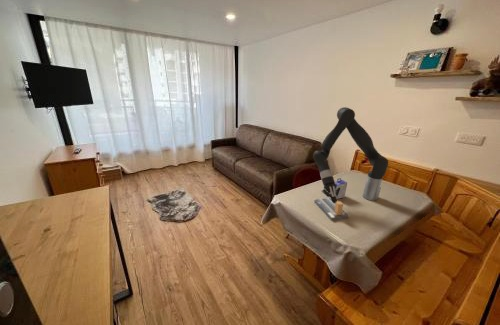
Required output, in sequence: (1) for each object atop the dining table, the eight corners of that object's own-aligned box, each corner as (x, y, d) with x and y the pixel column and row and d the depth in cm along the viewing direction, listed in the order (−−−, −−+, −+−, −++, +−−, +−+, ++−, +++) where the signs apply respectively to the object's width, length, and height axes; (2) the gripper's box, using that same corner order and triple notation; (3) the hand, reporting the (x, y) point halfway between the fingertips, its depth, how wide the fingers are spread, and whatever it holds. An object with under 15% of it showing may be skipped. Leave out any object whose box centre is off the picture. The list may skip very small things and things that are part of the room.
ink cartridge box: (339, 193, 156) (342, 176, 151) (345, 197, 152) (348, 179, 146) (329, 196, 153) (332, 179, 147) (335, 199, 148) (338, 182, 143)
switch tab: (338, 211, 130) (340, 201, 127) (341, 214, 128) (343, 203, 125) (333, 212, 130) (335, 201, 127) (336, 215, 127) (338, 204, 124)
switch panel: (329, 200, 147) (330, 196, 146) (348, 218, 128) (349, 213, 127) (314, 202, 145) (314, 198, 143) (331, 220, 126) (331, 215, 124)
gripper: (320, 176, 132) (328, 202, 126) (338, 174, 135) (347, 200, 129) (315, 180, 139) (323, 205, 133) (332, 178, 142) (340, 202, 135)
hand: (335, 202), depth 131 cm, fingers closed
